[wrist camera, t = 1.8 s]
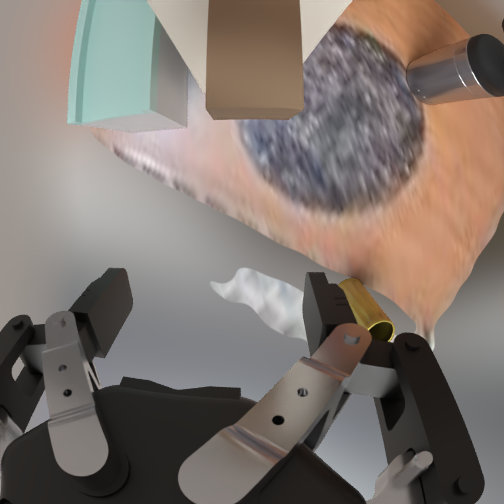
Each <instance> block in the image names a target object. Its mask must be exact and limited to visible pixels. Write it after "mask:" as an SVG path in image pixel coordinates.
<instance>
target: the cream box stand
mask: <svg viewBox="0 0 504 504" xmlns="http://www.w3.org/2000/svg"><path fill="white" fill-rule="evenodd" d="M352 1H353V0H300V14H301V32H302V55H303V63H304V62H305V60H306V59H307V58H308V56H309V55H310V54H311V52H312V51H313V50H314V48H315V47H316V46H317V44H318V43H319V42H320V40H321V39H322V38H323V37H324V35H325V34H326V33H327V31H328V30H329V29H330V28H331V26H332V25H333V24H334V23H335V21H336V20H337V19H338V18H339V16H340V15H341V14H342V13H343V11H344V10H345V9H346V8H347V7H348V5H349V4H350V3H351V2H352ZM147 2H148V4H149V5H150V7H151V8H152V10H153V11H154V13H155V15H156V16H157V18H158V19H159V21H160V22H161V24H162V26H163V27H164V29H165V30H166V32H167V34H168V35H169V37H170V39H171V40H172V42H173V43H174V45H175V47H176V48H177V50H178V52H179V53H180V55H181V57H182V58H183V60H184V62H185V63H186V65H187V67H188V68H189V70H190V72H191V73H192V75H193V77H194V78H195V80H196V82H197V83H198V85H199V87H200V89H201V90H202V92H203V94H206V56H207V27H208V6H209V0H147Z"/></svg>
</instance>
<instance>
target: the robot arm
mask: <svg viewBox="0 0 504 504" xmlns="http://www.w3.org/2000/svg"><path fill="white" fill-rule="evenodd" d="M502 28H503V31H504V20H503V22H502ZM406 76H407V81H408V84H409V87H410V89H411V91H412V92H413V94H414V95H415V96H416V97H417V98H418V99H419V100H420V101H421V102H423V103H425V104H428V105H437V104H443V103H450V102H457V101H464V100H472V99H481V98H489V97H501V96H504V45H503V43H501V42H500V41H499V40H498V39H497V38H495V37H493V36H491V35H488V34H480V35H477V36H474V37H471V38H468V39H466V40H463V41H460V42H458V43H455V44H452V45H447V46H445V47H442V48H440V49H437V50H435V51H432V52H430V53H428V54H425V55H423V56H422V57H420V58H418V59H416V60H414V61H412V62H411V63H410V64H409V65H408V67H407V75H406ZM132 305H133V298H132V293H131V289H130V285H129V280H128V275H127V272H126V270H125V269H124V268H108V269H107V271H106V272H105V273H104V274H103V275H102V276H101V278H98V279H97V280H95V281H94V282H92V283H91V284H90V285H89V286H88V287H87V289H86V291H84V292H83V293H82V295H81V296H80V297H79V298H78V299H77V300H76V302H75V303H74V304H73V305H72V307H71V308H70V309H69V310H68V311H60V312H56V313H54V314H52V315H51V316H50V317H49V318H48V319H47V320H46V322H45V324H40V325H33V323H32V321H31V319H30V317H29V316H28V315H19V316H16V317H14V318H12V319H11V320H10V321H9V322H8V323H7V324H6V325H5V327H4V328H3V329H2V330H1V332H0V478H1V495H0V504H475V503H476V502H477V501H478V500H479V498H480V497H481V495H482V493H483V490H484V485H485V482H484V476H483V473H482V470H481V467H480V464H479V461H478V458H477V455H476V452H475V449H474V446H473V443H472V441H471V438H470V435H469V433H468V430H467V428H466V425H465V422H464V420H463V418H462V415H461V413H460V410H459V408H458V406H457V403H456V401H455V399H454V396H453V394H452V392H451V390H450V387H449V385H448V383H447V381H446V379H445V377H444V375H443V373H442V370H441V368H440V366H439V364H438V362H437V360H436V358H435V356H434V354H433V352H432V350H431V348H430V346H429V344H428V343H427V341H426V340H425V339H424V338H423V337H421V336H419V335H417V334H414V333H401V334H399V335H398V336H396V338H395V339H394V342H393V343H392V342H385V341H379V340H375V339H372V336H371V334H370V332H369V331H368V330H367V329H366V328H364V327H363V326H361V325H358V323H357V321H356V318H355V316H354V313H353V311H352V309H351V306H350V305H349V302H348V299H347V297H346V295H345V293H344V290H343V289H342V288H340V287H339V286H338V285H337V284H329V283H328V281H327V278H326V276H325V273H324V272H307V273H306V279H305V289H304V297H303V319H304V324H305V330H306V335H307V340H308V345H309V351H310V356H311V358H310V359H308V358H306V357H302V358H301V359H299V361H297V362H296V364H295V365H294V366H293V367H292V368H291V369H290V370H289V371H288V372H287V373H286V374H285V375H284V376H283V377H282V378H281V380H280V381H279V382H278V383H277V384H276V385H275V386H274V387H273V388H272V389H271V390H270V391H269V392H268V393H267V394H266V395H265V396H264V397H263V398H262V399H261V400H260V401H259V402H255V401H253V400H251V399H248V398H244V397H241V388H231V387H212V386H209V387H201V388H192V389H183V390H176V389H172V388H169V387H166V386H164V385H161V384H158V383H155V382H152V381H149V380H143V379H136V378H130V377H123V378H122V381H121V383H120V385H113V386H109V387H105V388H102V385H101V383H100V380H99V377H98V374H97V371H96V368H95V365H94V362H93V358H94V356H95V357H100V358H105V357H106V355H107V353H108V351H109V349H110V348H111V346H112V344H113V342H114V340H115V338H116V337H117V335H118V333H119V331H120V329H121V328H122V326H123V324H124V322H125V320H126V319H127V317H128V315H129V313H130V312H131V310H132ZM18 357H20V358H21V360H22V362H23V363H24V365H25V366H24V368H23V369H22V371H21V373H20V374H19V376H18V378H17V379H16V381H14V379H13V377H12V367H13V365H14V363H15V362H16V360H17V359H18ZM44 390H46V396H47V403H48V409H49V415H50V419H49V420H47V421H45V422H44V423H42V424H40V425H38V426H37V427H35V428H33V429H32V430H30V431H29V432H26V433H25V434H23V433H24V432H25V429H26V427H27V425H28V423H29V421H30V418H31V416H32V414H33V412H34V410H35V408H36V406H37V404H38V402H39V400H40V397H41V396H42V394H43V392H44ZM352 393H353V394H359V395H365V396H372V397H373V398H374V401H375V406H376V410H377V414H378V419H379V423H380V427H381V432H382V436H383V441H384V446H385V451H386V456H387V462H388V466H387V467H386V468H385V470H384V471H383V472H382V473H381V474H380V475H379V476H378V478H377V480H376V484H375V493H374V496H373V498H372V499H371V500H368V501H365V499H364V498H363V496H362V495H361V494H360V493H359V491H358V490H356V489H355V488H354V487H353V486H351V485H350V484H349V483H348V482H347V481H346V480H344V479H343V478H342V477H341V476H340V475H339V474H338V473H336V472H335V471H334V470H333V469H332V468H331V467H330V466H328V465H327V464H326V463H325V462H324V461H323V460H322V459H321V458H319V457H318V456H317V455H316V454H315V453H314V452H315V450H316V449H317V448H318V446H319V445H320V444H321V442H322V441H323V439H324V437H325V436H326V434H327V432H328V430H329V429H330V427H331V425H332V424H333V422H334V421H335V420H336V418H337V416H338V415H339V413H340V412H341V411H342V409H343V407H344V406H345V404H346V403H347V401H348V400H349V398H350V397H351V395H352Z"/></svg>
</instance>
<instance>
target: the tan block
mask: <svg viewBox="0 0 504 504" xmlns="http://www.w3.org/2000/svg"><path fill="white" fill-rule="evenodd" d="M303 109H304V93H303V55H302V32H301V14H300V0H209V6H208V27H207V56H206V110H207V111H208V112H209V114H210V115H211V117H212V118H213V119H214V120H227V119H271V120H289V119H290V118H292V117H293V116H295V115H296V114H298V113H299V112H300V111H302V110H303Z"/></svg>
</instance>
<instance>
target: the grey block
mask: <svg viewBox="0 0 504 504" xmlns="http://www.w3.org/2000/svg"><path fill="white" fill-rule="evenodd" d="M187 86H188V67H187V65H186V63H185V62H184V60H183V58H182V57H181V55H180V53H179V52H178V50H177V48H176V47H175V45H174V43H173V42H172V40H171V39H170V37H169V35H168V34H167V32H166V30H165V29H164V27H163V26H162V24H161V35H160V48H159V64H158V88H157V113H150V114H142V115H134V116H127V117H121V118H114V119H109V120H103V121H97V122H92V123H87V124H82V126H90V127H97V128H104V129H111V130H117V131H123V132H129V133H138V132H146V131H156V130H167V129H179V128H187Z"/></svg>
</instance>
